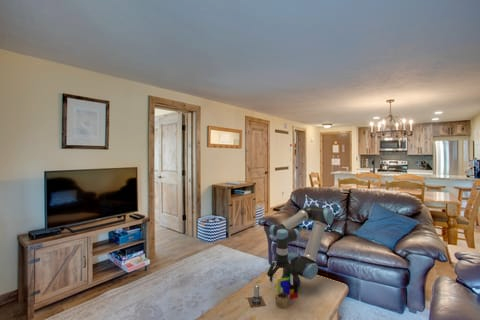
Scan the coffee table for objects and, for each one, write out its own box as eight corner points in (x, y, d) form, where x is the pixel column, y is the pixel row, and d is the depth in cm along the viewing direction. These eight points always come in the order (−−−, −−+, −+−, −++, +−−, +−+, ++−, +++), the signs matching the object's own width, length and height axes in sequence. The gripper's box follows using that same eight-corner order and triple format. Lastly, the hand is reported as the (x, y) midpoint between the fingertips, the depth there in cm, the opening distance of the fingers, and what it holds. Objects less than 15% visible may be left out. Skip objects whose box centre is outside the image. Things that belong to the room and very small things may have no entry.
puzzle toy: (285, 300, 171) (285, 286, 170) (277, 292, 180) (277, 279, 180) (297, 297, 174) (297, 283, 174) (289, 289, 184) (289, 276, 183)
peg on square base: (247, 298, 172) (247, 282, 172) (261, 297, 174) (261, 280, 174) (251, 307, 163) (251, 290, 162) (265, 305, 164) (265, 288, 164)
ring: (274, 301, 169) (274, 293, 169) (285, 300, 170) (285, 291, 170) (278, 309, 161) (278, 299, 161) (290, 307, 162) (290, 298, 162)
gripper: (265, 257, 159) (265, 290, 159) (302, 254, 163) (301, 286, 164) (262, 252, 166) (262, 284, 166) (297, 249, 171) (297, 280, 171)
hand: (281, 285), depth 165 cm, fingers open, 13 cm apart
